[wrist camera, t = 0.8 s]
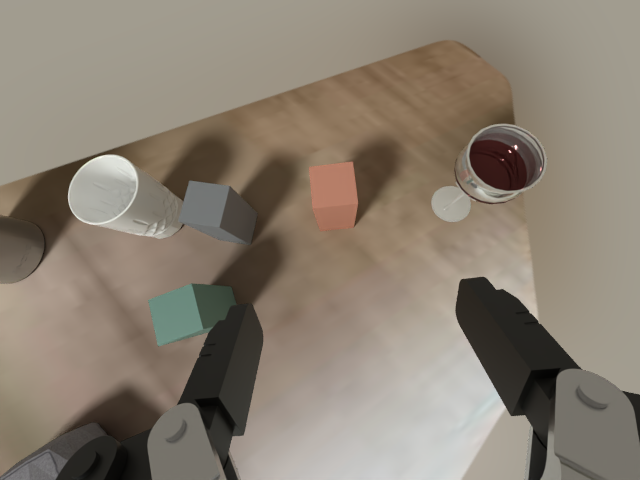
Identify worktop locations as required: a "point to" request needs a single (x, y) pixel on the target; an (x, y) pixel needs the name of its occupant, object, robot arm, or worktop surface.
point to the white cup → (123, 198)
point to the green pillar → (189, 311)
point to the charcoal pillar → (218, 212)
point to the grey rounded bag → (53, 455)
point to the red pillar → (334, 195)
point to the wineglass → (492, 170)
